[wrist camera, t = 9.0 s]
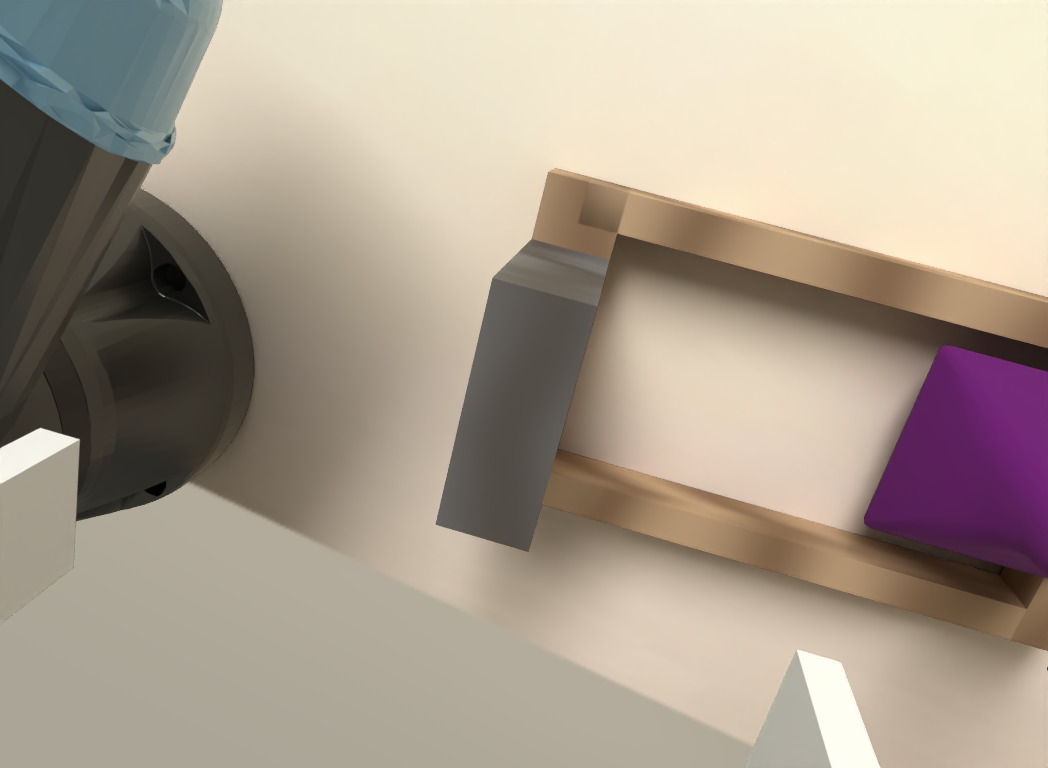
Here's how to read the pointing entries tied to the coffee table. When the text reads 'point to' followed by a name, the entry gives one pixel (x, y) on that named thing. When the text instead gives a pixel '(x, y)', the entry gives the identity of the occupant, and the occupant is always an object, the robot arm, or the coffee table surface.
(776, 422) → the coffee table surface
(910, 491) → the perfume bottle
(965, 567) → the strip frame
